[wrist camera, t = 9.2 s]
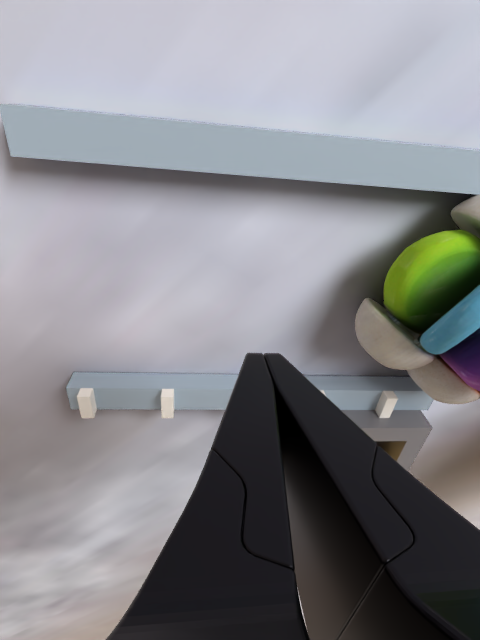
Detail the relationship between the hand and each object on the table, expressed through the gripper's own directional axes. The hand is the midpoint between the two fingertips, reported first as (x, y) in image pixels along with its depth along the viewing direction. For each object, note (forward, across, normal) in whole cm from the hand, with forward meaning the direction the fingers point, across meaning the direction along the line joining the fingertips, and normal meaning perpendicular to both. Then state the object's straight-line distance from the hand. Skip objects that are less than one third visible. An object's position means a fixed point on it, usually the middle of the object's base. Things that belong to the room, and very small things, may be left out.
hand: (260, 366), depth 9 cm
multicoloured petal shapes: (+8, -11, +2) cm, 14 cm away
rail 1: (+8, -2, -4) cm, 9 cm away
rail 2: (+8, -2, +8) cm, 11 cm away
